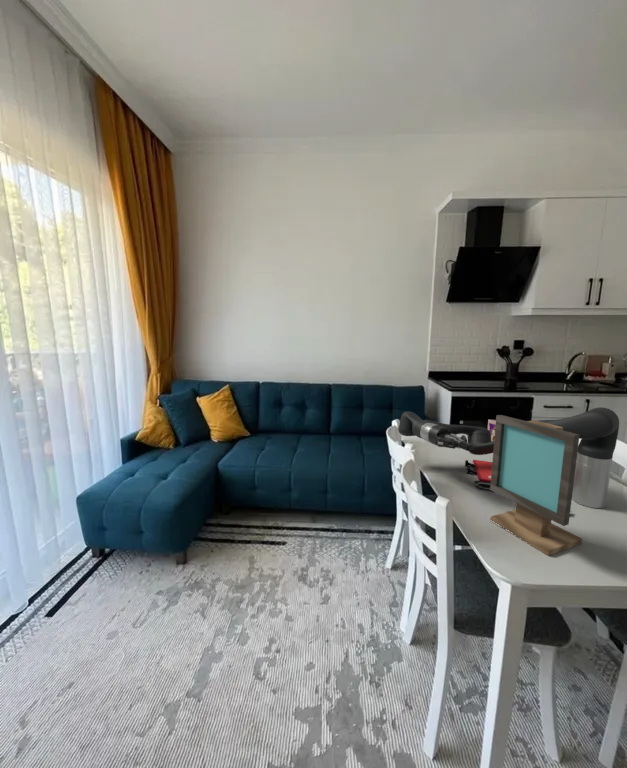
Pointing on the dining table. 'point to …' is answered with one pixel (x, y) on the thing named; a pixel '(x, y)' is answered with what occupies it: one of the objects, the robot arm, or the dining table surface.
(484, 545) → the dining table surface
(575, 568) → the dining table surface
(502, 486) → the picture frame
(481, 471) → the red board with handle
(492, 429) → the greeting card
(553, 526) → the framed display stand
